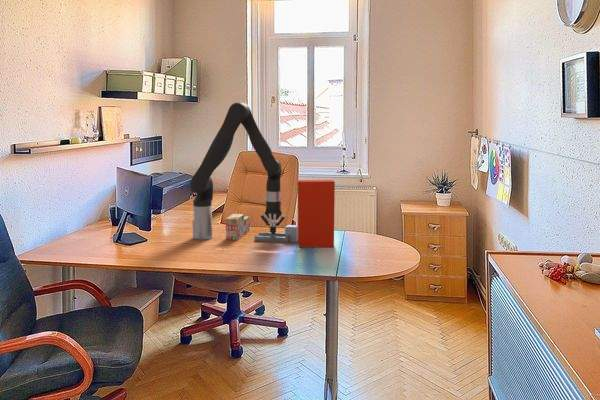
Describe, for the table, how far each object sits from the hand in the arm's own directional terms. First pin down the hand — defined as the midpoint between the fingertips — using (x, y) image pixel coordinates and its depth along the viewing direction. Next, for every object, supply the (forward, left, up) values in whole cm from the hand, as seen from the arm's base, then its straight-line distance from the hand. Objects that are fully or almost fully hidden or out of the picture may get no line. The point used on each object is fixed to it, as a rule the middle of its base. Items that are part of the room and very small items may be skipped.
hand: (273, 233), depth 246 cm
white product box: (-20, +6, -5) cm, 22 cm away
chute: (+1, 0, -4) cm, 4 cm away
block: (+10, 0, -3) cm, 10 cm away
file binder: (+22, -4, -4) cm, 23 cm away
